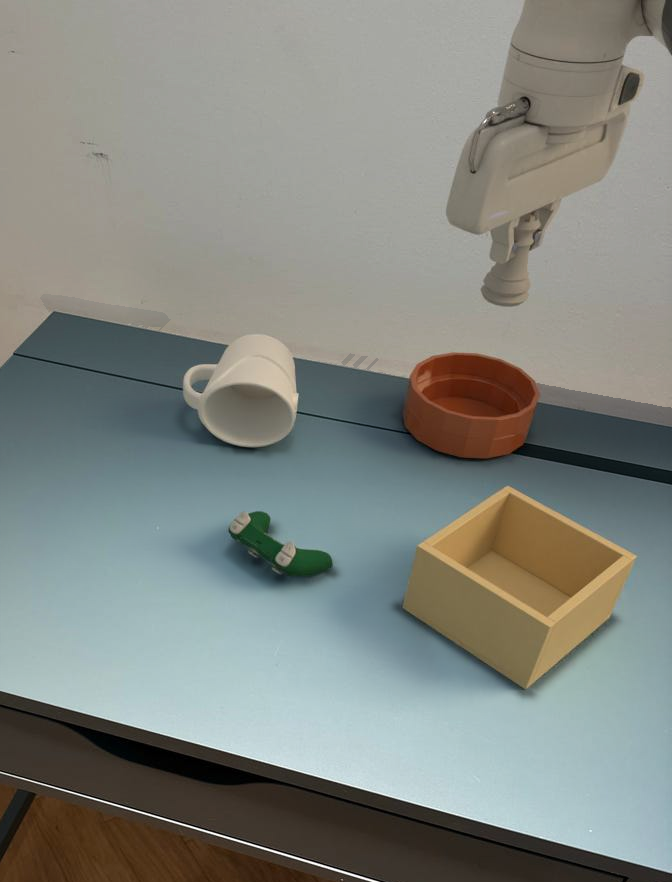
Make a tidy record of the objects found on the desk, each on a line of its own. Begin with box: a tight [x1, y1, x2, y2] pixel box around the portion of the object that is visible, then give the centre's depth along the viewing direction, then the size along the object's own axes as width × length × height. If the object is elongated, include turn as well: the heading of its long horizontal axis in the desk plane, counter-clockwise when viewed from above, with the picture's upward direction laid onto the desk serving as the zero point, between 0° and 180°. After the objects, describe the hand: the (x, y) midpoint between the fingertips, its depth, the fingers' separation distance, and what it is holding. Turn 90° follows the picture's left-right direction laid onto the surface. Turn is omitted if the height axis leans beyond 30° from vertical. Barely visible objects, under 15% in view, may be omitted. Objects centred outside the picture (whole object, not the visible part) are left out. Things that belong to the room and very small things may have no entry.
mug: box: [182, 333, 299, 448], centre depth 102 cm, size 12×9×8 cm
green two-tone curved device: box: [227, 510, 334, 578], centre depth 89 cm, size 9×4×6 cm
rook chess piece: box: [480, 210, 541, 308], centre depth 91 cm, size 4×4×8 cm
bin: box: [401, 485, 637, 690], centre depth 83 cm, size 13×13×7 cm
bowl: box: [402, 351, 541, 459], centre depth 104 cm, size 13×13×5 cm
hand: (514, 253), depth 91 cm, fingers closed on rook chess piece, 3 cm apart
